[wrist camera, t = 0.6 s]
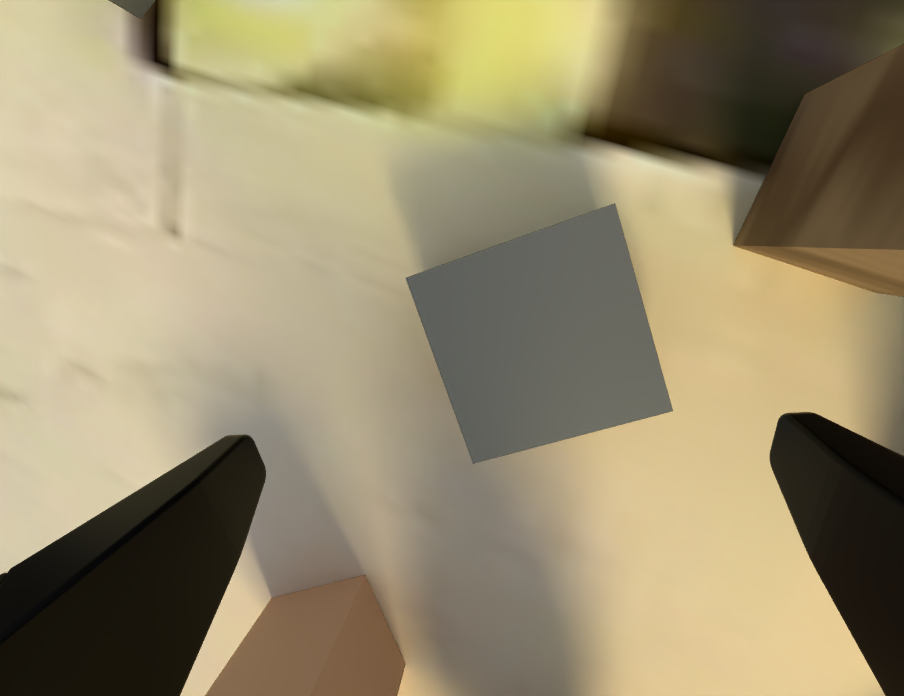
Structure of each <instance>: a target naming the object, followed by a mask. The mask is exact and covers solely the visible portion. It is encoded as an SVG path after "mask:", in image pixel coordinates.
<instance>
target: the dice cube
mask: <svg viewBox="0 0 904 696" xmlns="http://www.w3.org/2000/svg"><path fill="white" fill-rule="evenodd" d="M109 1H111V2H113V3H114V4H116V5H118V6H119V7H121V8H123V9H125V10H126V11H128V12H130V13H131V14H133V15H135V16H136V17H138V18H140V19H142V17H143V16H144V15H145V13H146V12H147V11H148V10H149V8H150V7H151V6H152V4H153V3H154V2H155V0H109Z"/></svg>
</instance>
